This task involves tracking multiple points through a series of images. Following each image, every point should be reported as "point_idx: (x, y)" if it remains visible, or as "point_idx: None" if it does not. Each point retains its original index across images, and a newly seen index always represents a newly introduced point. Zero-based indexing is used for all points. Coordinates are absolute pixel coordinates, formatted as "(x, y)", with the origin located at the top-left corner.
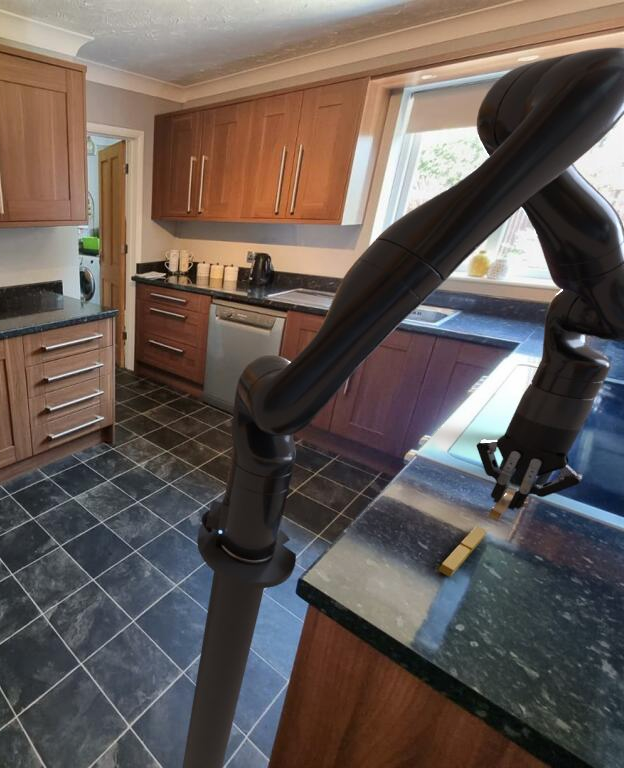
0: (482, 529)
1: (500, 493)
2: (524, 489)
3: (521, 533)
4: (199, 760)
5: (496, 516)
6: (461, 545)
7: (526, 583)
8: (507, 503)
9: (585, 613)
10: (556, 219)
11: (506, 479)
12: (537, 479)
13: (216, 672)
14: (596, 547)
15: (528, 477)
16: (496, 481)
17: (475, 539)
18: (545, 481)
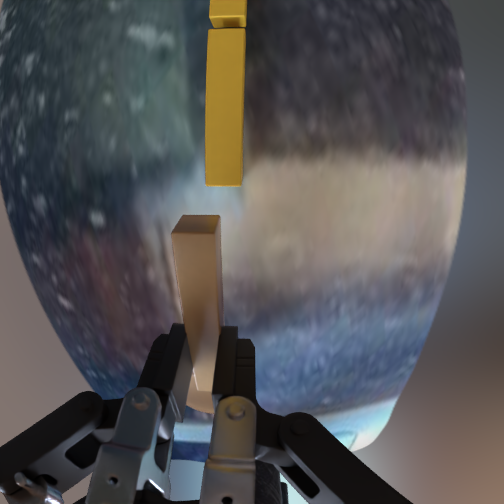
0: (219, 176)
1: (223, 359)
2: (139, 407)
3: (159, 294)
4: None
5: (188, 222)
6: (238, 13)
7: (84, 75)
8: (193, 337)
9: (13, 107)
10: None
11: (219, 430)
12: None
13: None
14: (83, 351)
15: (120, 472)
16: (257, 404)
17: (215, 84)
18: (208, 455)
